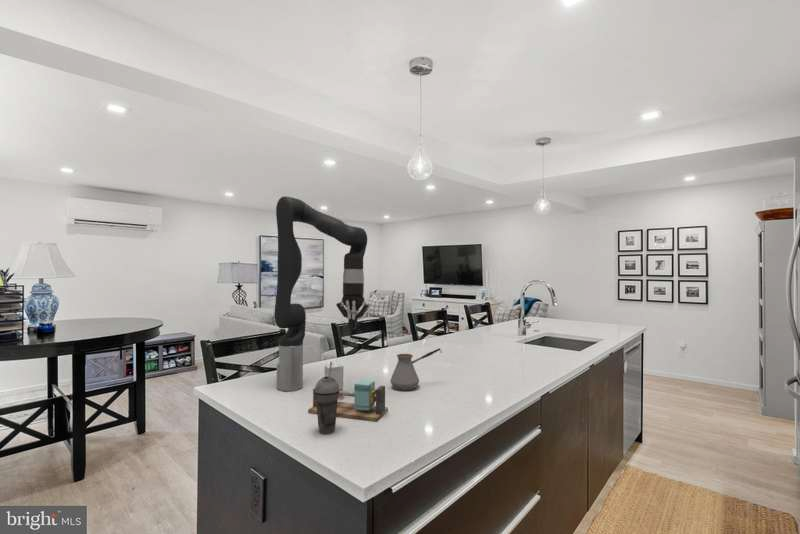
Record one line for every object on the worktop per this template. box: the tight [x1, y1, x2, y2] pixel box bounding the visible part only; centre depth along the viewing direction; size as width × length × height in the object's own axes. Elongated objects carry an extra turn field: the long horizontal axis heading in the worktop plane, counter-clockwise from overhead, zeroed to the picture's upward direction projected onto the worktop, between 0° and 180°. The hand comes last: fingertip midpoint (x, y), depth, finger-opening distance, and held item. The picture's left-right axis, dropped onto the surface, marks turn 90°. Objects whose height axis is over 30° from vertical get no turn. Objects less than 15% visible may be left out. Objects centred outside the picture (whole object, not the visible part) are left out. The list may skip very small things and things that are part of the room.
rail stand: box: [307, 385, 389, 423], centre depth 128 cm, size 24×10×9 cm, turn 72°
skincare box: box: [324, 363, 344, 400], centre depth 142 cm, size 6×4×12 cm
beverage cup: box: [314, 361, 340, 435], centre depth 113 cm, size 7×7×20 cm
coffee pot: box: [390, 347, 443, 391], centre depth 156 cm, size 21×12×15 cm, turn 104°
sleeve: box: [353, 379, 376, 410], centre depth 126 cm, size 5×5×8 cm
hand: (352, 329), depth 141 cm, fingers closed
